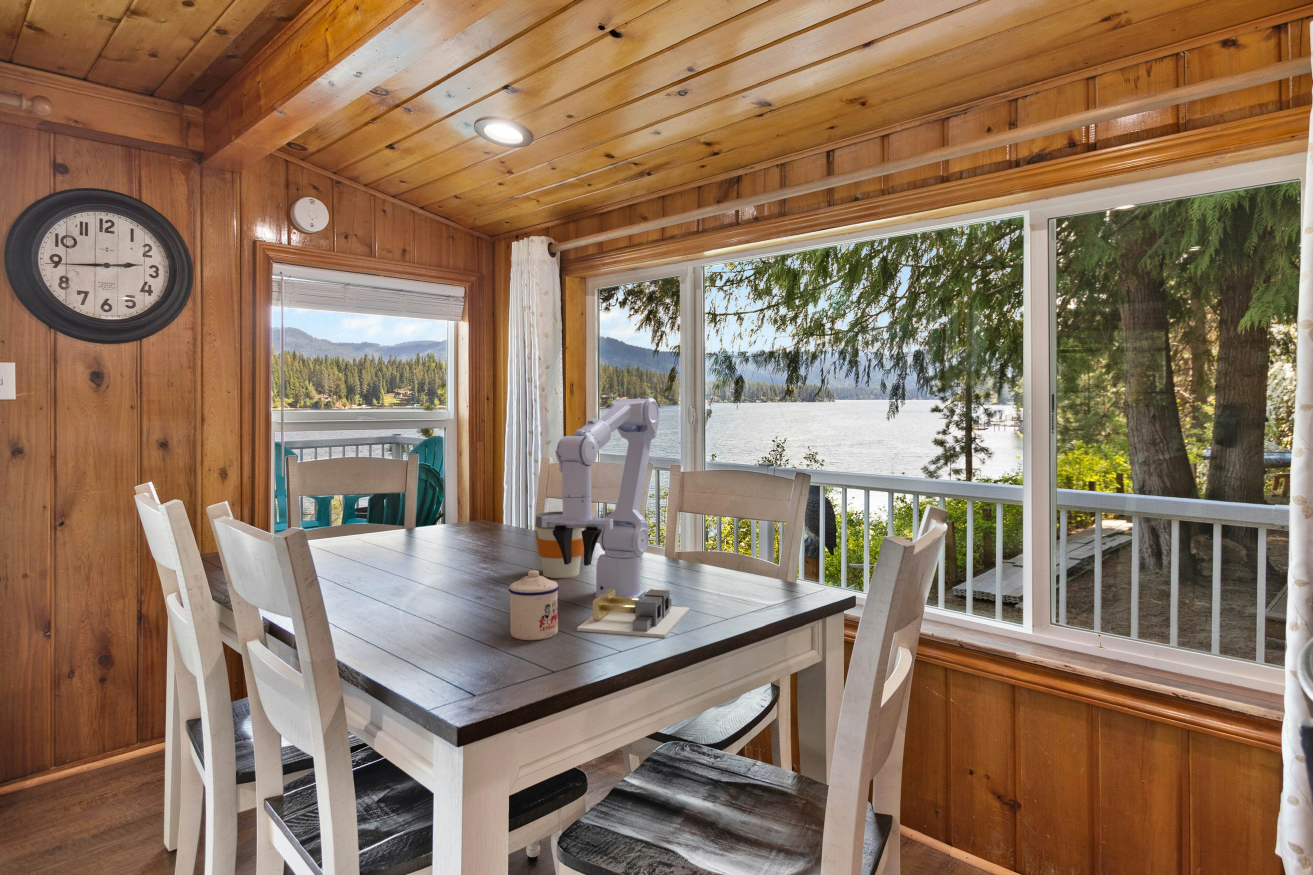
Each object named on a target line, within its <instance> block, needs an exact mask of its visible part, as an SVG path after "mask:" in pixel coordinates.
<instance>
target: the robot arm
mask: <svg viewBox="0 0 1313 875" xmlns="http://www.w3.org/2000/svg"><path fill="white" fill-rule="evenodd" d="M660 417H661V412H660V409H659V405H658V403H657V401H656V399H655V398H653V397H648V398H615V399H614V400H613V401H611V403H610V406H609V410H607V412H606V413H605V414H604V415H603V416H602V417H601V418H600V419H599V418H589V419H588V420H587V421H586V422H587V423H586V424H585V425H583V426H582V427H581V428H578V429H577V430H576V431H575V432H574V433H573V434H572V435H566V436H564V437H562V438H561V439H559V440H558V442H557V446H556V450H555V457H556V459H557V462H558V465H559V468H558V469H559V471H560V472H559V473H561V475H562V476H561V477H562V478H561V479H562V481H561V483H562V486H561V488H562V493H561V494H562V495H561V496H562V511H563V516H545V517H542V527H555V529H554V530H553V535H554V537H555V539H556V540H557V542H558V545H559V547H560V550H561V553H562V556H563V560H564V564H566V565H568V564H569V563H571V560H572V552H571V543H572V533H573V528H584V530H583V531H581V533H582V538H583V545H584V550H583V565H584V567H585V566H586V567H588V566H590V565H591V564H592V560H593V555H594V551H595V548H596V544H597V542H599V546H600V548H601V550H602V551H603V552H604V554H600V555H599V556H598V557H597V561H596V567H595V568H596V569H595V572H596V573H595V574H596V575H595V578H596V579H595V581H596V588H595V589H596V594H595V598H597V597H598V596H600V595H601V594H603V593H604V592H606V591H607V590H608V589H615V597H625V598H640V597H642V596H643V595H644V594H645V593H646V592H647V589H646V588H641V556H643V555H644V553H645V551H646V550H647V548H648V545H649V540H650V539H649V522H648V521H647V519H646V518H645V517H644V516H643V514H641V513H640V510H641V504H642V499H643V493H644V487H645V481H646V474H647V471H648V464H649V458H650V452H651V448H652V440H653V439H655V438H656V437H657V434H658V428H659V422H660ZM615 430H617V431H618V433H619V435H620V437H622V438H623V439H625V440H627V443H628V445H627V450H626V456H625V461H624V467H623V470H622V471H623V472H622V476H621V477H622V478H621V484H620V488H619V492H618V493H619V495H618V498H617V499H618V500H617V504H616V509H615V510H613V511H612V512H610V513H609V514H608V515H607V516H605V518H604V517H596V516H593V514H592V464H594V463H595V462H596V460H597V455H598V454H599V452H600V450H601V449H602V448H603V447H604V446H605V445H607V443H609V442H610V440H611V437H612V433H613V432H614V431H615ZM567 524H571V525H567ZM574 524H585V525H574Z"/></svg>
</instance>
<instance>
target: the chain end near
mask: <svg viewBox="0 0 1313 875" xmlns="http://www.w3.org/2000/svg"><path fill="white" fill-rule="evenodd" d="M638 598H639V599H638V600H637V601H636V602H635V619H634V620H633V631H645V632H647V631H648V630H649V629H650V628H651V627H652V626H657V625H658V624H659V623H660V622H661V621H662V597H649V596H644V595H641V596H640V597H638Z"/></svg>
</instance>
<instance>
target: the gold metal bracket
mask: <svg viewBox="0 0 1313 875" xmlns="http://www.w3.org/2000/svg"><path fill="white" fill-rule="evenodd" d="M639 598H640V597H638V598H625V597H615V589H608V590H607V591H606V592H604V593H603V594H601V595H600V596H598V597H595V598H594V599H593V600H592V616H593V619H594V620H599V619H601V618H602V617H603V616H605V615H606V614H607V613H608V612H615V613H628V614H635V602H636V601H637V600H638V599H639Z"/></svg>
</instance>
